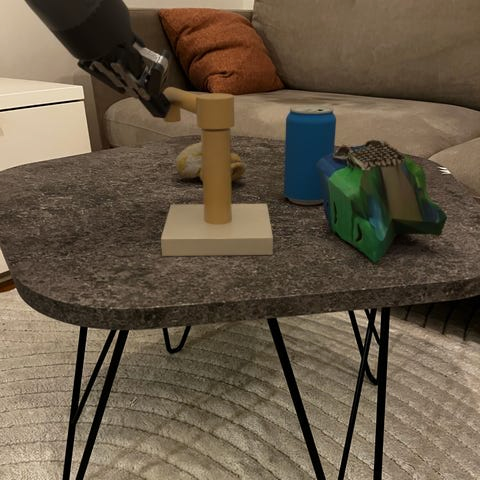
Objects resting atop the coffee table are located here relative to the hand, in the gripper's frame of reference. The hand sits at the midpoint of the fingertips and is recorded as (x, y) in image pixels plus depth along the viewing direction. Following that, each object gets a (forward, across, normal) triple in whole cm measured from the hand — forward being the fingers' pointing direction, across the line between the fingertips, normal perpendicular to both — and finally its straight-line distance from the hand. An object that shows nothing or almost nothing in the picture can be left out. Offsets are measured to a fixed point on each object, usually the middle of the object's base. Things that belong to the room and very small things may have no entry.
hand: (163, 111), depth 72 cm
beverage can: (+19, -13, -1) cm, 23 cm away
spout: (0, -6, +2) cm, 6 cm away
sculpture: (+12, -27, +6) cm, 30 cm away
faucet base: (+6, -11, +12) cm, 17 cm away
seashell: (+20, +5, -2) cm, 20 cm away
